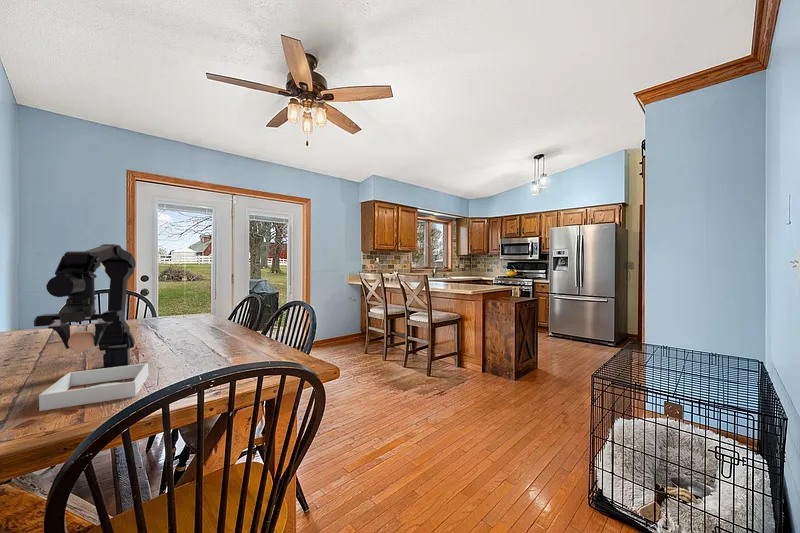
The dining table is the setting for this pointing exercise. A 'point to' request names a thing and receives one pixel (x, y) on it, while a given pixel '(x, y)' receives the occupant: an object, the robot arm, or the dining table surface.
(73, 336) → the ball
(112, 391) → the walled pen
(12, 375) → the dining table surface
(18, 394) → the dining table surface
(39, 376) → the dining table surface
